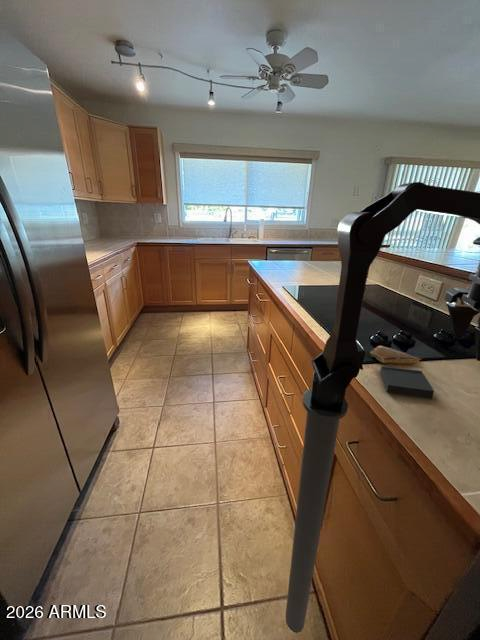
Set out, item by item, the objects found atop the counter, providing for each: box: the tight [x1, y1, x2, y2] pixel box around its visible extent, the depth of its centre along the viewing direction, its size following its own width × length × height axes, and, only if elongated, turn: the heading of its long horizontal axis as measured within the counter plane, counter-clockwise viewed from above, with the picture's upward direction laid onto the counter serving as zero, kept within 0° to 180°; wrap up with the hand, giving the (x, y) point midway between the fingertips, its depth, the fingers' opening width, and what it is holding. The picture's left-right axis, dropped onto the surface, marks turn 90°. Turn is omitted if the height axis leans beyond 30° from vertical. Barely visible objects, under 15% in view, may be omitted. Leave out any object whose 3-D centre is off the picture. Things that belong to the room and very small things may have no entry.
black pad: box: [379, 365, 435, 400], centre depth 62 cm, size 9×8×2 cm
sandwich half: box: [369, 345, 423, 364], centre depth 71 cm, size 11×8×2 cm
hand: (468, 348), depth 52 cm, fingers open, 9 cm apart
